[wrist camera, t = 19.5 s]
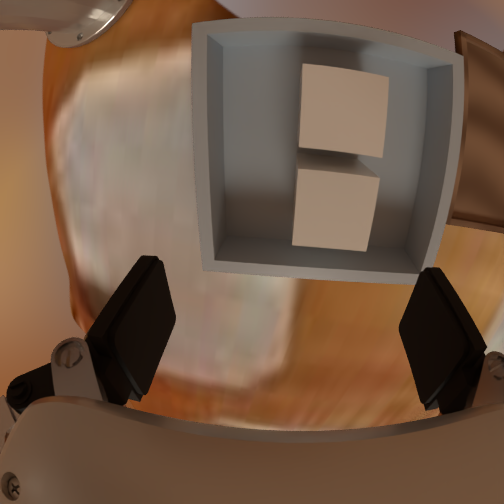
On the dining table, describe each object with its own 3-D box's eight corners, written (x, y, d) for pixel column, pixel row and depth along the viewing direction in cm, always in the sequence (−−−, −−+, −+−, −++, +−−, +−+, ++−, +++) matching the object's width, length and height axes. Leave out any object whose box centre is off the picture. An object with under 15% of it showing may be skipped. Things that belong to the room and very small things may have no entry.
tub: (213, 39, 17) (192, 23, 13) (433, 62, 15) (463, 56, 10) (218, 241, 26) (202, 270, 21) (407, 254, 24) (426, 285, 19)
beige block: (299, 76, 17) (302, 63, 12) (363, 84, 17) (389, 77, 11) (297, 137, 20) (298, 147, 14) (359, 144, 19) (382, 158, 14)
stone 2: (296, 152, 20) (297, 168, 15) (357, 159, 20) (379, 178, 14) (292, 210, 22) (291, 245, 17) (350, 216, 22) (366, 251, 17)
